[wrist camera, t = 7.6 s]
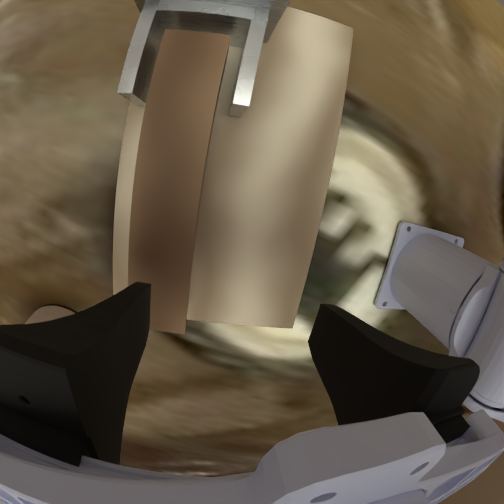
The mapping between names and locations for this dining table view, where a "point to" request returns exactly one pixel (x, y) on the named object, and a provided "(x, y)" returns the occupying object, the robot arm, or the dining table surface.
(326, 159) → the base board
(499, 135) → the dining table surface
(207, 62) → the rail
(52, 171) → the dining table surface
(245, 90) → the bracket
